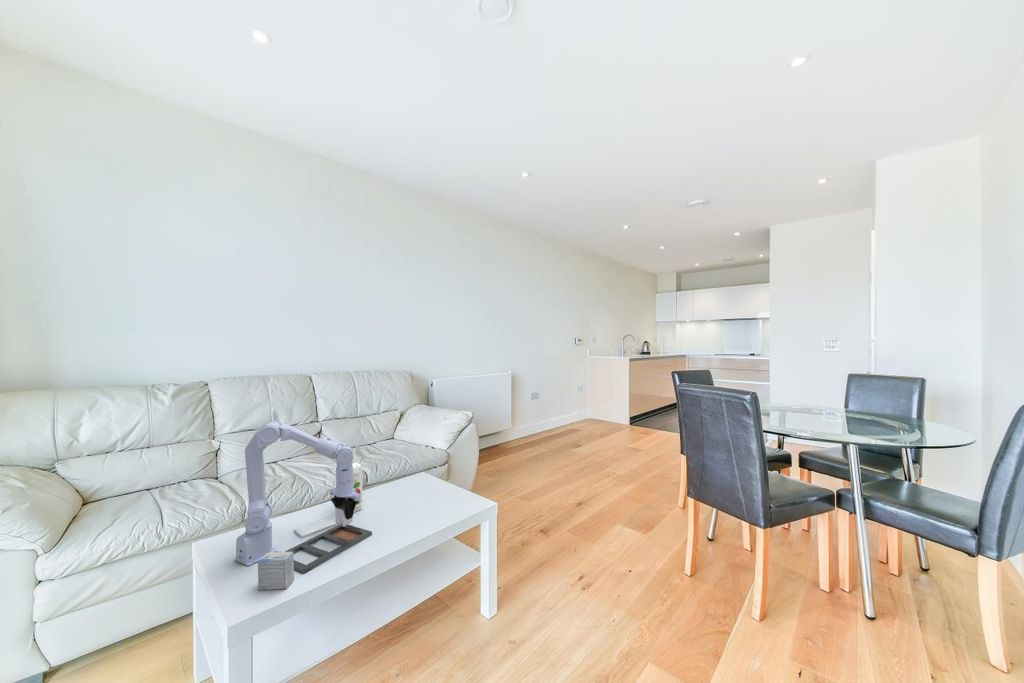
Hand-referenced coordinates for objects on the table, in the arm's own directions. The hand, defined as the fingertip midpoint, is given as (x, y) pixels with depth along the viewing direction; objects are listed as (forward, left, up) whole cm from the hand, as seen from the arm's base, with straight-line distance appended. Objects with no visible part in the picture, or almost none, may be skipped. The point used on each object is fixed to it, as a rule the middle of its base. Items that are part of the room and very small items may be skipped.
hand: (345, 517), depth 135 cm
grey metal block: (-1, 0, -2) cm, 2 cm away
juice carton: (+16, +17, -7) cm, 24 cm away
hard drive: (-1, +16, -8) cm, 18 cm away
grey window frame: (-8, 0, -7) cm, 11 cm away
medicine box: (-28, -6, -7) cm, 30 cm away
